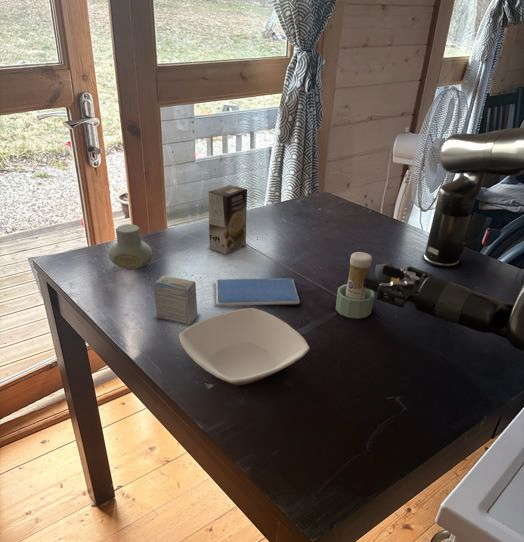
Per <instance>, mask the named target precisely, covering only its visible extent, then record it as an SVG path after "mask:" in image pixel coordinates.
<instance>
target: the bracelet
mask: <svg viewBox="0 0 524 542" xmlns="http://www.w3.org/2000/svg"><path fill="white" fill-rule="evenodd" d="M346 289H347V283H346V284H342V285H341V286H339V287H338V288H337V294H336V302H335V311H336V312H337V313H338V314H339V315H341V316H343V317H345V318H349V319H357V320H358V319H364V318H367V317H369V316H370V315H372V312H373V311H372V310H373V306H374V301H375V291H372V290H369V289H367V288H366V294H365V298H364V300H354V299H349V298H347V297H346Z"/></svg>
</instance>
